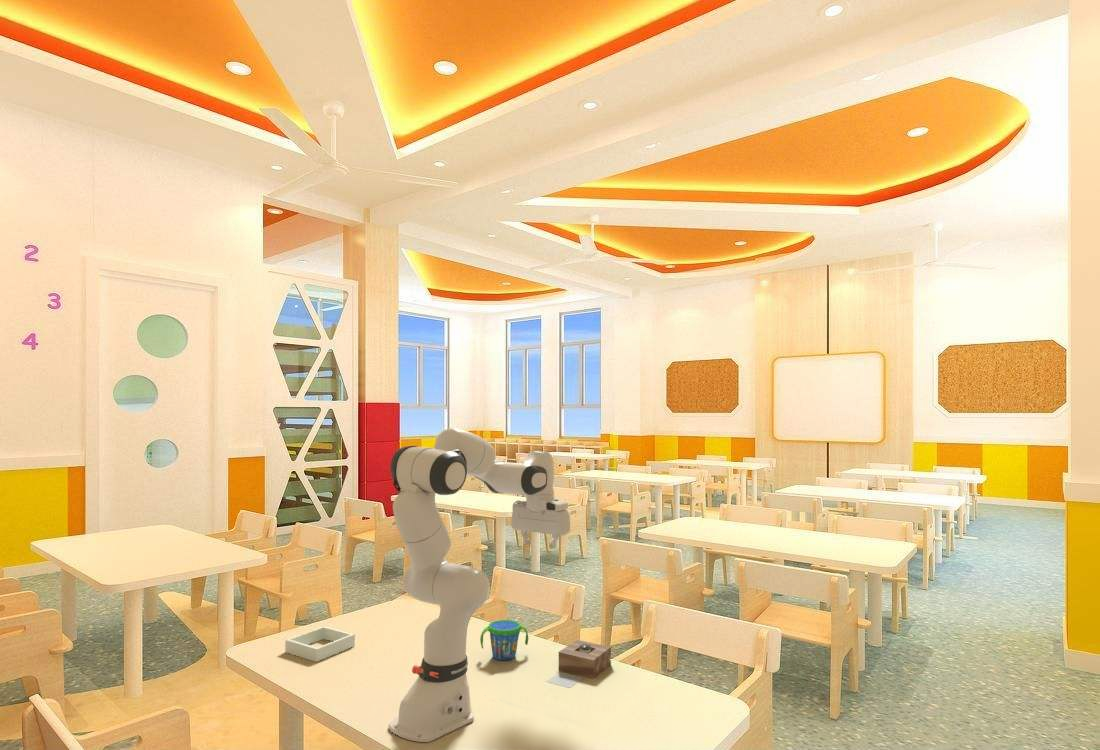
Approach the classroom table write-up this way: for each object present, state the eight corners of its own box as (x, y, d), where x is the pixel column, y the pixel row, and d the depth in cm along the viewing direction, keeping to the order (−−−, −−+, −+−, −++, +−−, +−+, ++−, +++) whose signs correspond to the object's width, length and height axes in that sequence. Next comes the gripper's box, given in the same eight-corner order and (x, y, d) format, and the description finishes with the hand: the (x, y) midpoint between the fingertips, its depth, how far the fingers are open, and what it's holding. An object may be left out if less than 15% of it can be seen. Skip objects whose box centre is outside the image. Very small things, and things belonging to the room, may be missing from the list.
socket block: (593, 680, 185) (593, 660, 186) (558, 671, 192) (558, 651, 192) (610, 666, 196) (610, 647, 196) (577, 658, 202) (577, 639, 202)
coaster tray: (316, 662, 198) (316, 649, 198) (285, 652, 206) (285, 639, 206) (354, 646, 211) (354, 634, 212) (323, 637, 219) (324, 626, 220)
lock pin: (587, 672, 191) (587, 649, 192) (577, 670, 193) (577, 646, 193) (592, 668, 194) (592, 645, 195) (582, 666, 196) (582, 643, 196)
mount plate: (569, 690, 179) (569, 687, 179) (546, 683, 183) (546, 681, 183) (583, 679, 186) (583, 677, 186) (559, 673, 190) (559, 671, 190)
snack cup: (526, 649, 209) (526, 618, 210) (529, 662, 199) (530, 629, 200) (479, 651, 207) (480, 620, 208) (480, 664, 197) (480, 631, 197)
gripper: (507, 501, 201) (507, 544, 200) (562, 506, 190) (562, 552, 189) (518, 498, 206) (518, 541, 205) (572, 503, 195) (572, 548, 195)
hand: (539, 546), depth 197 cm, fingers open, 8 cm apart
